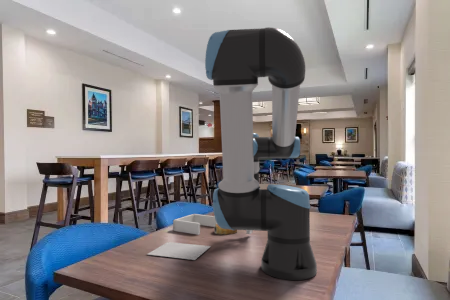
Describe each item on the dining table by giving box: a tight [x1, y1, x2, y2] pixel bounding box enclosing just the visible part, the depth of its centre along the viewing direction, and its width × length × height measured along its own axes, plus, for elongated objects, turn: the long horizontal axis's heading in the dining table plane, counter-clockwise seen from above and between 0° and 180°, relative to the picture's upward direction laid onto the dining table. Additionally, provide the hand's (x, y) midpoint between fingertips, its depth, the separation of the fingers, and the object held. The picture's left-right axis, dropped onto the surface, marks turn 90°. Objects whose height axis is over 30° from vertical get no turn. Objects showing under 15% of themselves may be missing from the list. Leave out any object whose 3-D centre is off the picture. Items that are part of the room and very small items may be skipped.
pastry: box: [213, 224, 238, 236], centre depth 121 cm, size 9×7×4 cm
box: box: [172, 213, 217, 236], centre depth 127 cm, size 15×13×4 cm
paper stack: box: [147, 241, 212, 261], centre depth 101 cm, size 23×25×1 cm
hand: (249, 232), depth 115 cm, fingers closed
